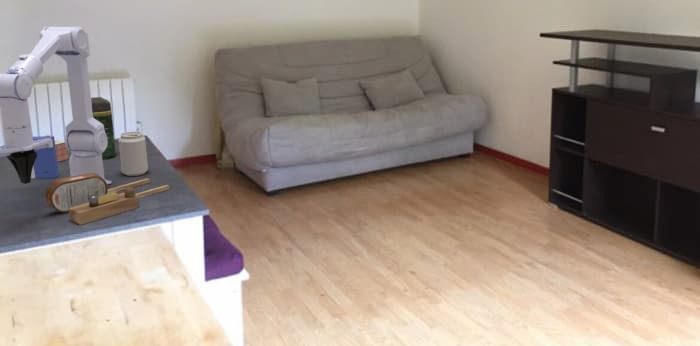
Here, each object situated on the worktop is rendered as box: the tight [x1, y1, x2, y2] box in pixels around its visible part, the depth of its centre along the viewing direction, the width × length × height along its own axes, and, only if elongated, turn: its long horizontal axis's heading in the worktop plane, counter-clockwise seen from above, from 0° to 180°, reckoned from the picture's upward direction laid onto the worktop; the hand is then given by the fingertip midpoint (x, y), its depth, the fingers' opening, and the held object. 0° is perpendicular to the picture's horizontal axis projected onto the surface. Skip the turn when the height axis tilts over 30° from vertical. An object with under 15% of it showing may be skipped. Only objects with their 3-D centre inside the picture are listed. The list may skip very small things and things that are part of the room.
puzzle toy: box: [54, 139, 70, 163], centre depth 217 cm, size 6×6×6 cm
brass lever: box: [88, 192, 118, 206], centre depth 170 cm, size 7×2×2 cm, turn 138°
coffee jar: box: [91, 96, 116, 160], centre depth 219 cm, size 10×8×19 cm
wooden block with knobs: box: [68, 187, 140, 226], centre depth 171 cm, size 5×16×5 cm, turn 140°
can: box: [117, 130, 149, 177], centre depth 202 cm, size 8×8×12 cm
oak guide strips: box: [107, 178, 170, 199], centre depth 188 cm, size 10×15×1 cm, turn 140°
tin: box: [45, 173, 109, 213], centre depth 175 cm, size 15×3×8 cm, turn 133°
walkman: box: [31, 134, 60, 179], centre depth 199 cm, size 8×3×12 cm, turn 96°
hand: (25, 182), depth 164 cm, fingers closed
